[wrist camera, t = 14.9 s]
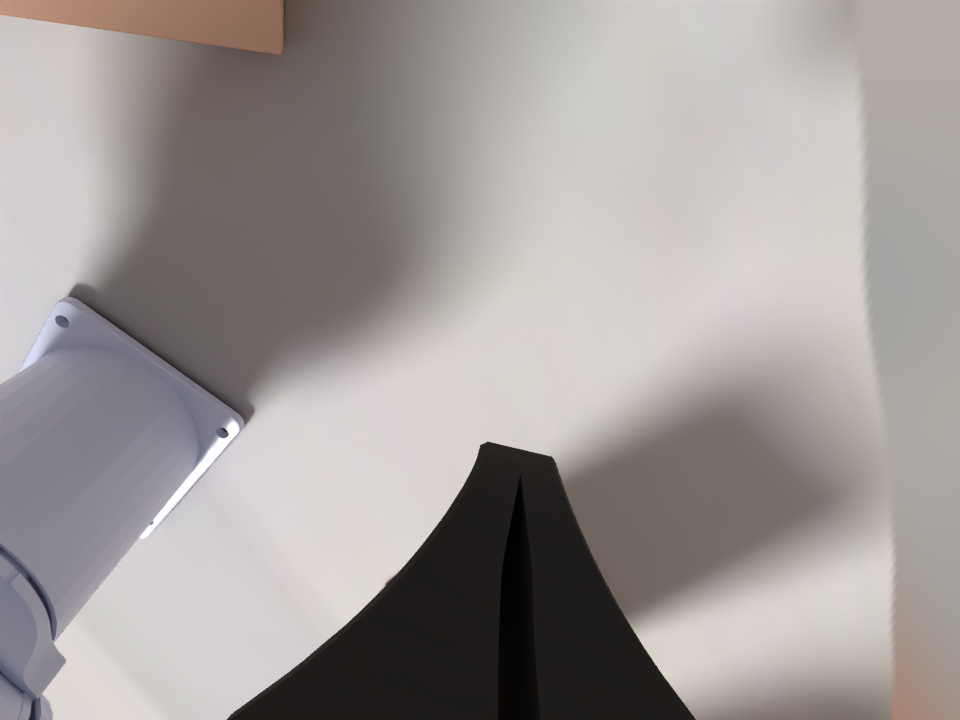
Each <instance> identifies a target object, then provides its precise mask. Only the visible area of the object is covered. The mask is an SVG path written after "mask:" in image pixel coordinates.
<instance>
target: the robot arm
mask: <svg viewBox="0 0 960 720" xmlns="http://www.w3.org/2000/svg"><path fill="white" fill-rule="evenodd" d="M63 316H64V317H65V318H66V319H67V320H68V321H69V322H67V321H66V320H65V319H64V317H63ZM243 426H244V420H243V418H242V417H241V416H240V415H239V414H238V413H237V412H235V411H234V410H233V409H231V408H230V407H228V406H227V405H226V404H224V403H223V402H221V401H220V400H219V399H217V398H216V397H214V396H213V395H212V394H210V393H209V392H207V391H206V390H205V389H203V388H202V387H200V386H199V385H197V384H196V383H195V382H193V381H192V380H190V379H189V378H188V377H186V376H185V375H183V374H182V373H181V372H179V371H178V370H176V369H175V368H174V367H172V366H171V365H169V364H168V363H166V362H165V361H164V360H162V359H161V358H159V357H158V356H157V355H155V354H154V353H152V352H151V351H150V350H148V349H147V348H145V347H144V346H143V345H141V344H140V343H138V342H137V341H135V340H134V339H133V338H131V337H130V336H128V335H127V334H126V333H124V332H123V331H121V330H120V329H119V328H117V327H116V326H114V325H113V324H112V323H110V322H109V321H107V320H106V319H105V318H103V317H102V316H100V315H99V314H97V313H96V312H95V311H93V310H92V309H90V308H89V307H88V306H86V305H85V304H83V303H82V302H81V301H79V300H77V299H75V298H73V297H65V298H63V299H61V300H59V301H58V302H57V303H56V304H55V306H54V308H53V309H52V311H51V313H50V315H49V317H48V319H47V320H46V322H45V324H44V326H43V328H42V329H41V331H40V333H39V335H38V337H37V339H36V340H35V342H34V344H33V346H32V348H31V349H30V351H29V353H28V355H27V357H26V358H25V360H24V362H23V364H22V366H21V368H20V369H19V371H18V373H17V374H16V375H15V376H13V377H12V378H10V379H9V380H7V381H5V382H4V383H2V384H1V385H0V720H53V712H52V709H51V705H50V703H49V701H48V700H47V699H46V698H45V697H44V696H43V695H42V693H43V691H44V690H45V689H46V688H47V686H48V685H49V684H50V682H51V681H52V680H53V678H54V677H55V676H56V674H57V673H58V672H59V671H60V669H61V668H62V667H63V665H64V664H65V663H66V659H65V658H64V657H63V656H62V654H61V653H60V652H59V651H58V650H57V648H56V647H55V645H54V642H55V641H56V639H57V638H58V637H59V636H60V634H61V633H62V632H63V631H64V629H65V628H66V627H67V626H68V625H69V623H70V622H71V621H72V620H73V618H74V617H75V616H76V615H77V613H78V612H79V611H80V610H81V609H82V607H83V606H84V605H85V604H86V602H87V601H88V600H89V599H90V597H91V596H92V595H93V594H94V592H95V591H96V590H97V589H98V588H99V586H100V585H101V584H102V583H103V581H104V580H105V579H106V578H107V576H108V575H109V574H110V573H111V571H112V570H113V569H114V568H115V567H116V565H117V564H118V563H119V562H120V560H121V559H122V558H123V557H124V555H125V554H126V553H127V552H128V550H129V549H130V548H131V547H132V546H133V544H134V543H135V542H136V541H137V539H138V538H139V539H146V538H148V537H149V536H150V535H151V534H152V532H153V531H154V530H155V529H156V528H157V527H158V525H159V524H160V523H161V522H162V521H163V520H164V519H165V517H166V516H167V515H168V514H169V513H170V512H171V511H172V509H173V508H174V507H175V506H176V505H177V504H178V502H179V501H180V500H181V499H182V498H183V497H184V496H185V494H186V493H187V492H188V491H189V490H190V489H191V487H192V486H193V485H194V484H195V483H196V482H197V481H198V479H199V478H200V477H201V476H202V475H203V474H204V473H205V471H206V470H207V469H208V468H209V467H210V466H211V464H212V463H213V462H214V461H215V460H216V459H217V458H218V456H219V455H220V454H221V453H222V452H223V451H224V449H225V448H226V447H227V446H228V445H229V444H230V443H231V441H232V440H233V439H234V438H235V437H236V436H237V435H238V433H239V432H240V431H241V430H242V428H243ZM221 428H224V429H226V430H227V431H228V432H225V431H223V430H222V429H221ZM227 720H696V719H695V718H694V716H693V715H692V714H691V712H690V711H689V710H688V708H687V707H686V706H685V704H684V703H683V702H682V700H681V699H680V698H679V696H678V695H677V694H676V692H675V691H674V690H673V688H672V687H671V686H670V684H669V683H668V682H667V680H666V679H665V678H664V676H663V675H662V674H661V672H660V671H659V669H658V668H657V666H656V665H655V663H654V662H653V660H652V659H651V657H650V656H649V654H648V653H647V651H646V650H645V648H644V647H643V645H642V644H641V642H640V641H639V639H638V637H637V636H636V634H635V633H634V631H633V629H632V628H631V626H630V624H629V623H628V621H627V620H626V618H625V616H624V614H623V613H622V611H621V609H620V608H619V606H618V604H617V602H616V600H615V599H614V597H613V595H612V593H611V591H610V589H609V587H608V586H607V584H606V582H605V580H604V578H603V576H602V574H601V572H600V570H599V568H598V566H597V564H596V562H595V560H594V558H593V556H592V554H591V552H590V549H589V547H588V545H587V543H586V541H585V538H584V536H583V534H582V532H581V529H580V527H579V525H578V523H577V520H576V518H575V515H574V513H573V510H572V508H571V505H570V503H569V500H568V497H567V495H566V492H565V489H564V487H563V484H562V481H561V478H560V475H559V472H558V468H557V465H556V463H555V461H554V459H553V458H552V457H551V456H546V455H542V454H538V453H533V452H529V451H525V450H521V449H516V448H512V447H508V446H504V445H499V444H495V443H491V442H486V443H484V444H482V445H480V449H479V453H478V457H477V459H476V462H475V464H474V467H473V469H472V471H471V473H470V475H469V477H468V478H467V480H466V482H465V484H464V486H463V487H462V489H461V491H460V492H459V494H458V495H457V497H456V498H455V500H454V502H453V503H452V505H451V506H450V508H449V509H448V511H447V512H446V514H445V515H444V517H443V518H442V519H441V521H440V522H439V523H438V525H437V526H436V527H435V529H434V530H433V531H432V533H431V534H430V535H429V537H428V538H427V539H426V541H425V542H424V543H423V545H422V546H421V547H420V548H419V549H418V551H417V552H416V553H415V554H414V555H413V557H412V558H411V559H410V560H409V561H408V562H407V564H406V565H405V566H404V567H403V568H402V569H401V570H400V571H399V572H398V574H397V575H396V576H395V577H394V578H393V579H392V580H391V581H390V582H389V583H388V584H387V585H386V586H385V587H384V588H383V589H382V590H381V591H380V592H379V593H378V594H377V595H376V596H375V597H374V598H373V599H372V600H371V601H370V602H369V603H368V604H367V605H366V606H365V607H364V608H363V609H362V610H361V611H360V612H359V613H358V614H357V615H356V616H355V617H354V618H353V619H352V620H351V621H349V622H348V623H347V624H346V625H345V626H344V627H343V628H342V629H340V630H339V631H338V632H337V633H336V634H334V635H333V636H332V637H331V638H330V639H329V640H327V641H326V642H325V643H324V644H323V645H321V646H320V647H319V648H318V649H317V650H316V651H314V652H313V653H312V654H311V655H310V656H308V657H307V658H306V659H305V660H304V661H303V662H301V663H300V664H299V665H297V666H296V667H295V668H294V669H292V670H291V671H290V672H288V673H287V674H286V675H284V676H283V677H282V678H280V679H279V680H278V681H276V682H275V683H273V684H272V685H271V686H269V687H268V688H267V689H265V690H264V691H262V692H261V693H260V694H258V695H257V696H256V697H254V698H253V699H252V700H250V701H249V702H247V703H246V704H245V705H243V706H242V707H241V708H239V709H238V710H236V711H235V712H234V713H233V714H231V715H230V717H229V718H228V719H227Z"/></svg>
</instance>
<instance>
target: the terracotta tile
mask: <svg viewBox="0 0 960 720" xmlns="http://www.w3.org/2000/svg"><path fill="white" fill-rule="evenodd" d="M0 15H7V16H14V17H21V18H28V19H35V20H42V21H49V22H55V23H62V24H69V25H76V26H83V27H90V28H97V29H104V30H111V31H118V32H125V33H132V34H139V35H146V36H153V37H160V38H167V39H174V40H181V41H188V42H195V43H202V44H209V45H216V46H223V47H230V48H236V49H243V50H250V51H257V52H264V53H271V54H278V55H281V54H282V52H283V49H284V0H0Z"/></svg>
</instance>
